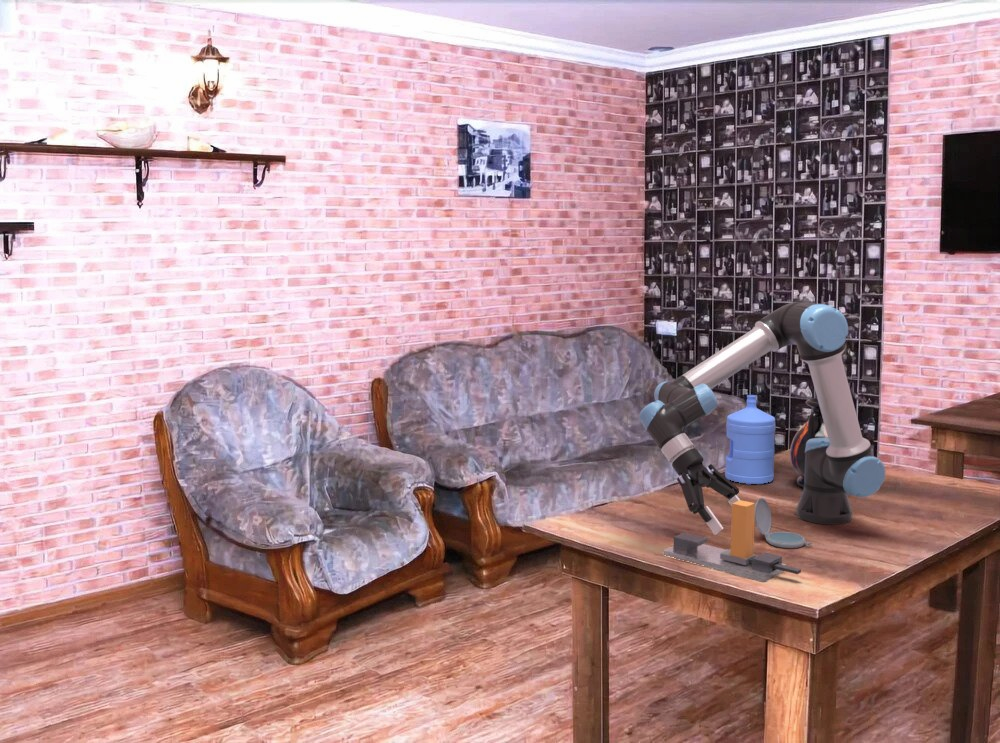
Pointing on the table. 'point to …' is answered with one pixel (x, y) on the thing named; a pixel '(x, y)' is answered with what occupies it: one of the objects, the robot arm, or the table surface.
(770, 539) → the pocket watch
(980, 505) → the table surface
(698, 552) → the base
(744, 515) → the handle
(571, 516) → the table surface
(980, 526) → the table surface
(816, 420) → the amphora vase
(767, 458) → the water jug
